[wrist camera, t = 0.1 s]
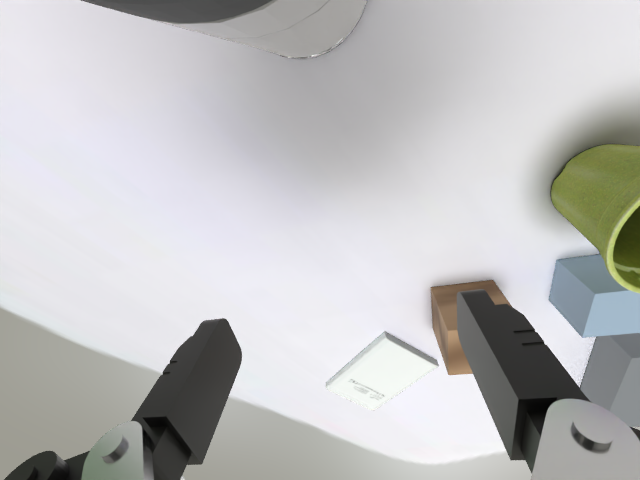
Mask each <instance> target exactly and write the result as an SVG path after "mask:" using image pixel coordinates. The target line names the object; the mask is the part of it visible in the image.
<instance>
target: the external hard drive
mask: <svg viewBox="0 0 640 480" xmlns="http://www.w3.org/2000/svg"><path fill="white" fill-rule="evenodd" d="M438 366H439V365H438V362H437V360H435V359H433V358H432V357H430V356H428V355H426V354H424V353H423V352H421V351H419V350H417V349H415V348H414V347H412V346H410V345H408V344H406V343H405V342H403V341H401V340H399V339H397V338H396V337H394V336H392V335H390V334H389V333H387V332H383V333H382V334H381V335H380V336H379V337H378V338H376V339H375V340H374V341H373V342H372V343H371V344H370V345H369V346H367V347H366V348H365V349H364V350H363V351H362V352H360V353H359V354H358V355H357V356H356V357H355V358H354V359H352V360H351V361H350V362H349V363H348V364H347V365H346V366H344V367H343V368H342V369H341V370H340V371H339V372H338V373H337V374H335V375H334V376H333V377H332V378H331V379H330V380H328V381H327V382H326V389H327V390H329V391H331V392H333V393H335V394H337V395H339V396H341V397H344V398H346V399H348V400H350V401H352V402H354V403H356V404H358V405H360V406H363V407H365V408H367V409H369V410H371V411H374V410H376V409H377V408H379V407H380V406H381V405H383V404H384V403H386V402H387V401H389V400H390V399H392V398H393V397H395V396H396V395H398V394H399V393H401V392H402V391H404V390H405V389H406V388H408V387H409V386H411V385H412V384H414V383H415V382H417V381H418V380H420V379H421V378H422V377H424V376H425V375H427V374H428V373H430V372H431V371H432V370H434V369H435V368H437V367H438Z"/></svg>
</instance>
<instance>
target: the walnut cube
mask: <svg viewBox="0 0 640 480" xmlns="http://www.w3.org/2000/svg"><path fill="white" fill-rule="evenodd" d="M478 289H484V290H485V291H486V292H487V293H488V295H489V296H490V298H491V299H492V301H493V302H494V304H495V305H499V304H508V305H509V306H511V305H510V303H509V302H508V300H507V299H506V298H505V296H504V295H503V293H502V292H501V291H500V289H499V288H498V286H497V285H496V283H495V282H494V281H493V280H487V281H479V282H471V283H462V284H454V285H445V286H437V287H431V303H432V321H433V330H434V333H435V336H436V339H437V342H438V345H439V348H440V351H441V354H442V357H443V360H444V363H445V366H446V369H447V372H448V375H458V374H473V372H472V370H471V368H470V365H469V363H468V361H467V358H466V356H465V354H464V351H463V349H462V347H461V344H460V340H459V336H458V331H457V293H458V292H461V291H470V290H478ZM511 307H512V306H511Z"/></svg>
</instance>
